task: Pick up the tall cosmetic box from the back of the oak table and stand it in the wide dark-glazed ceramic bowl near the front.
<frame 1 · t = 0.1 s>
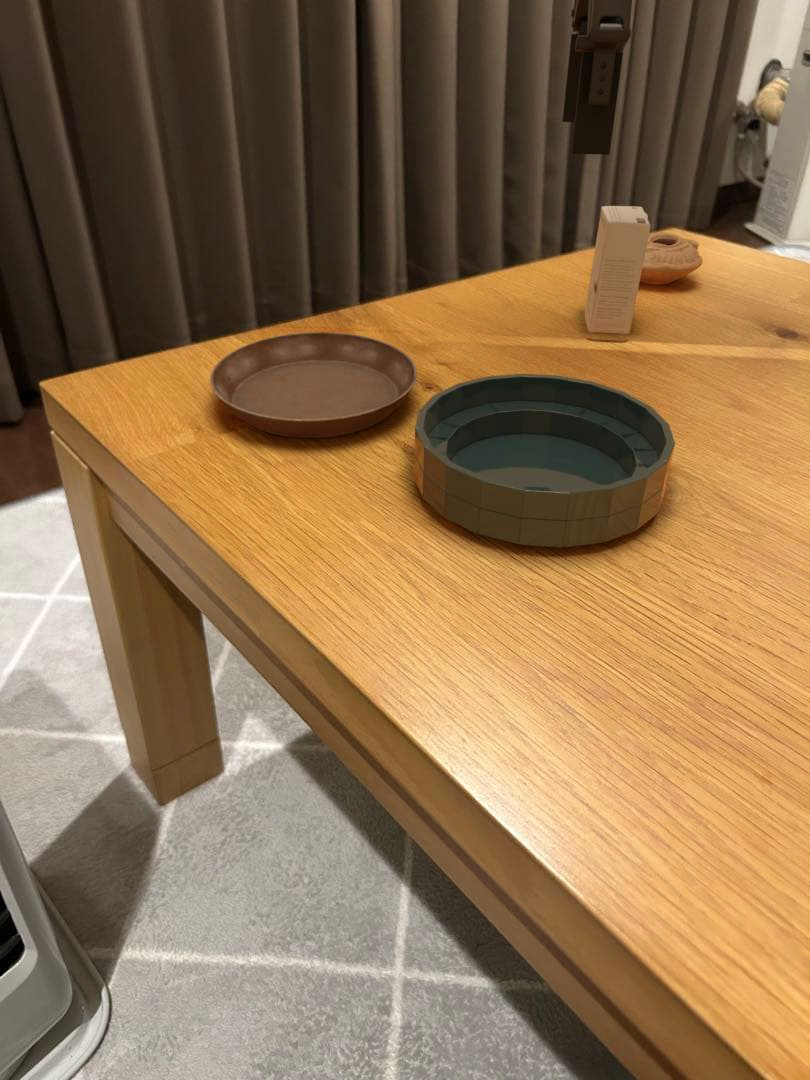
hand: (583, 136, 69), 21 cm above the table, tool pointing down, fingers open, 13 cm apart
plant saucer: (316, 404, 76), on the table
cosmetic box: (606, 334, 91), on the table
pottery oil lamp: (643, 281, 105), on the table
bowl: (536, 485, 65), on the table
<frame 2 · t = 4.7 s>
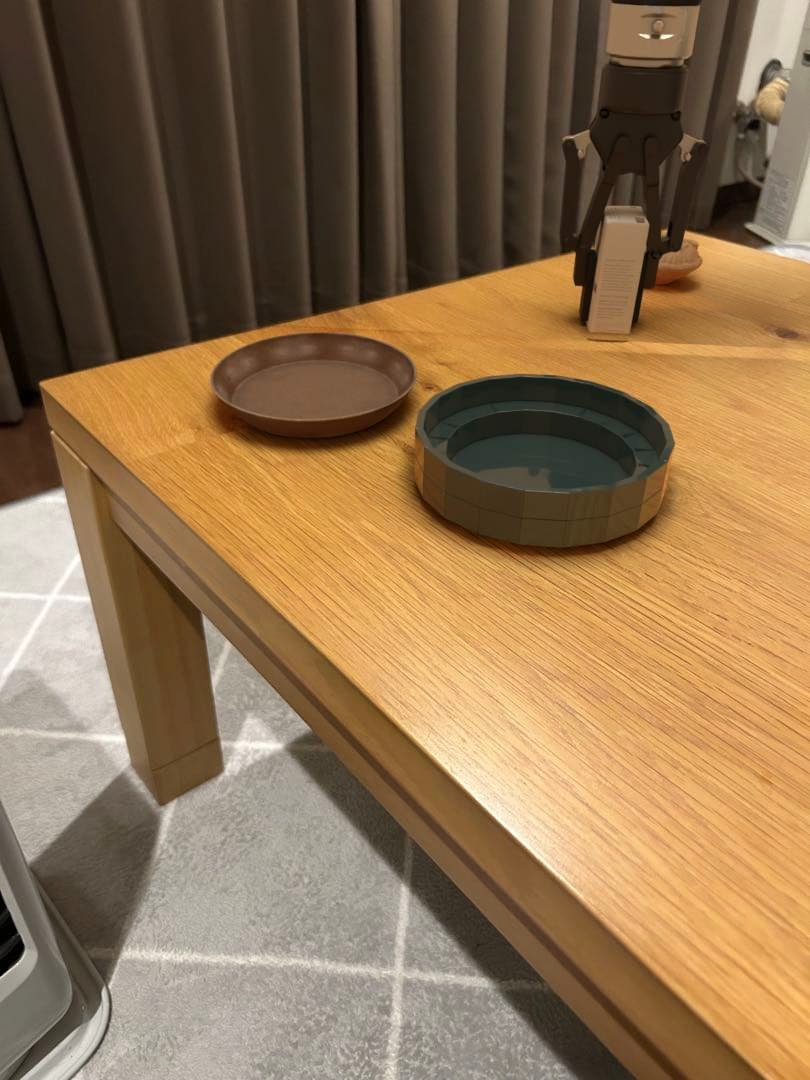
hand: (607, 317, 89), 2 cm above the table, tool pointing down, fingers closed on cosmetic box, 4 cm apart
cosmetic box: (606, 334, 90), on the table, touching gripper
everything else where it was.
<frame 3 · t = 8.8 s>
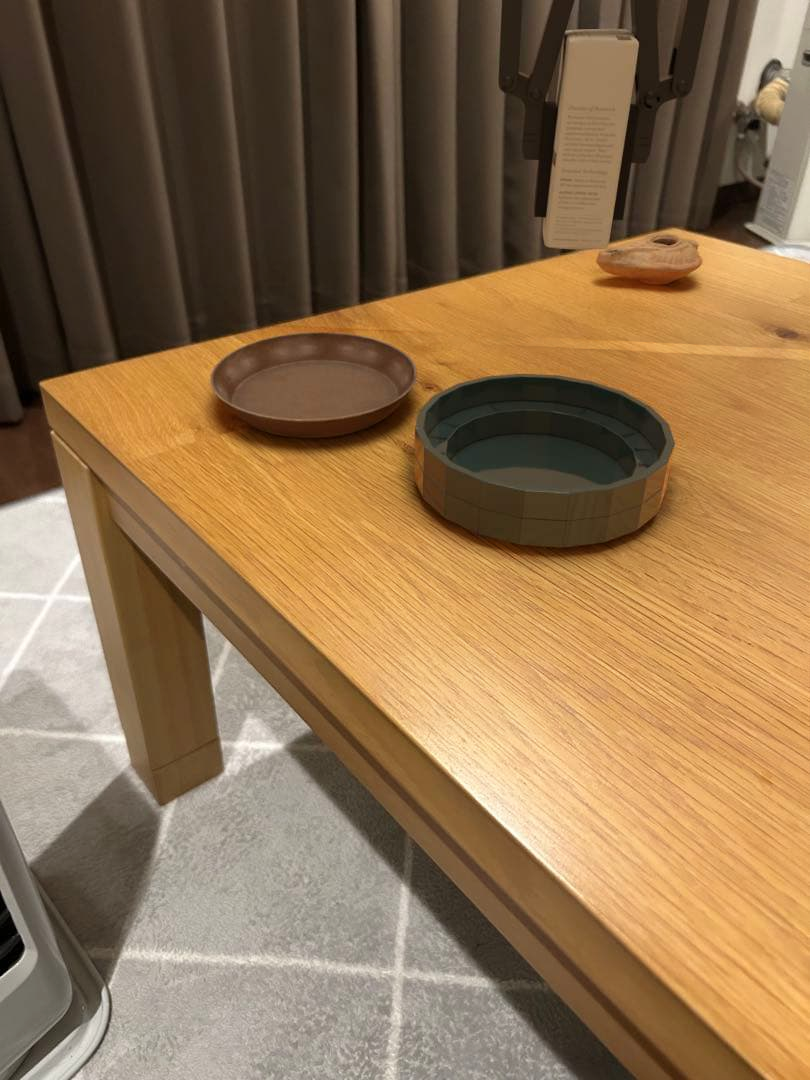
hand: (577, 212, 58), 19 cm above the table, tool pointing down, fingers closed on cosmetic box, 4 cm apart
cosmetic box: (576, 241, 59), point 17 cm above the table, touching gripper
everything else where it was.
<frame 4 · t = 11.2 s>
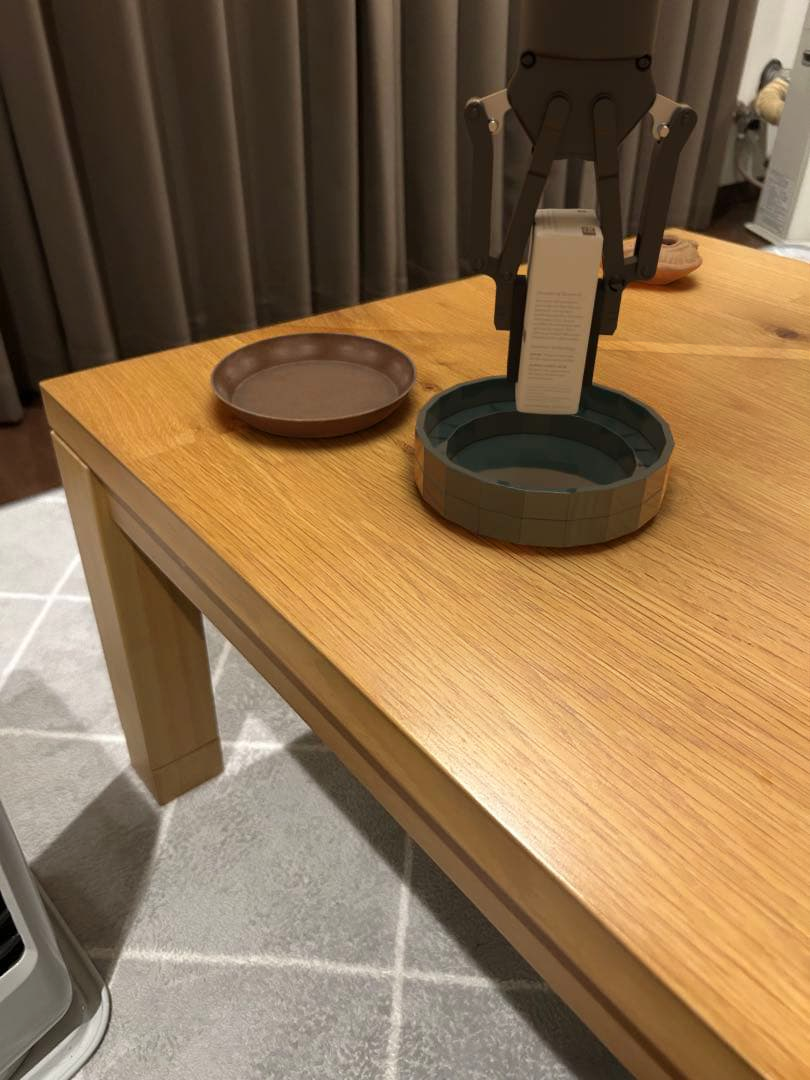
hand: (548, 375, 60), 9 cm above the table, tool pointing down, fingers closed on cosmetic box, 4 cm apart
cosmetic box: (547, 399, 61), point 7 cm above the table, touching gripper
everything else where it was.
when the fingers open (2 cm above the table, at t = 13.0 s): cosmetic box stays where it is, resting on bowl.
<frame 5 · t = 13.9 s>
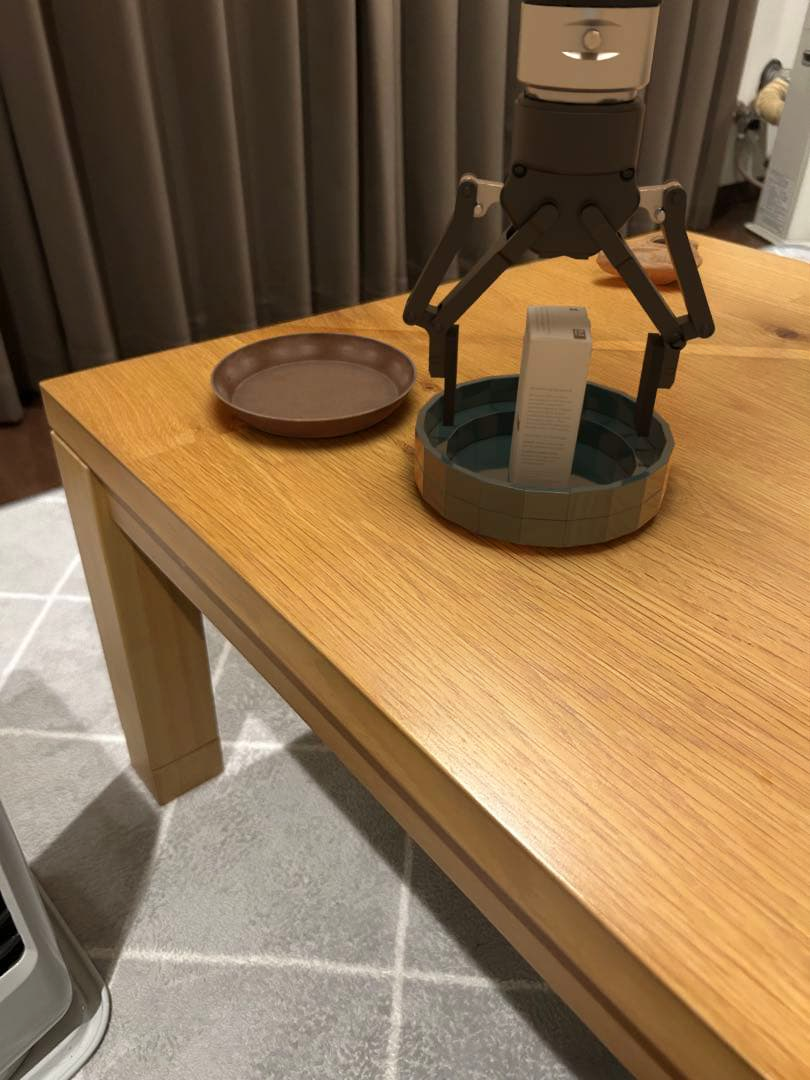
hand: (543, 423, 62), 5 cm above the table, tool pointing down, fingers open, 13 cm apart
cosmetic box: (539, 478, 65), point 1 cm above the table, touching bowl
everything else where it was.
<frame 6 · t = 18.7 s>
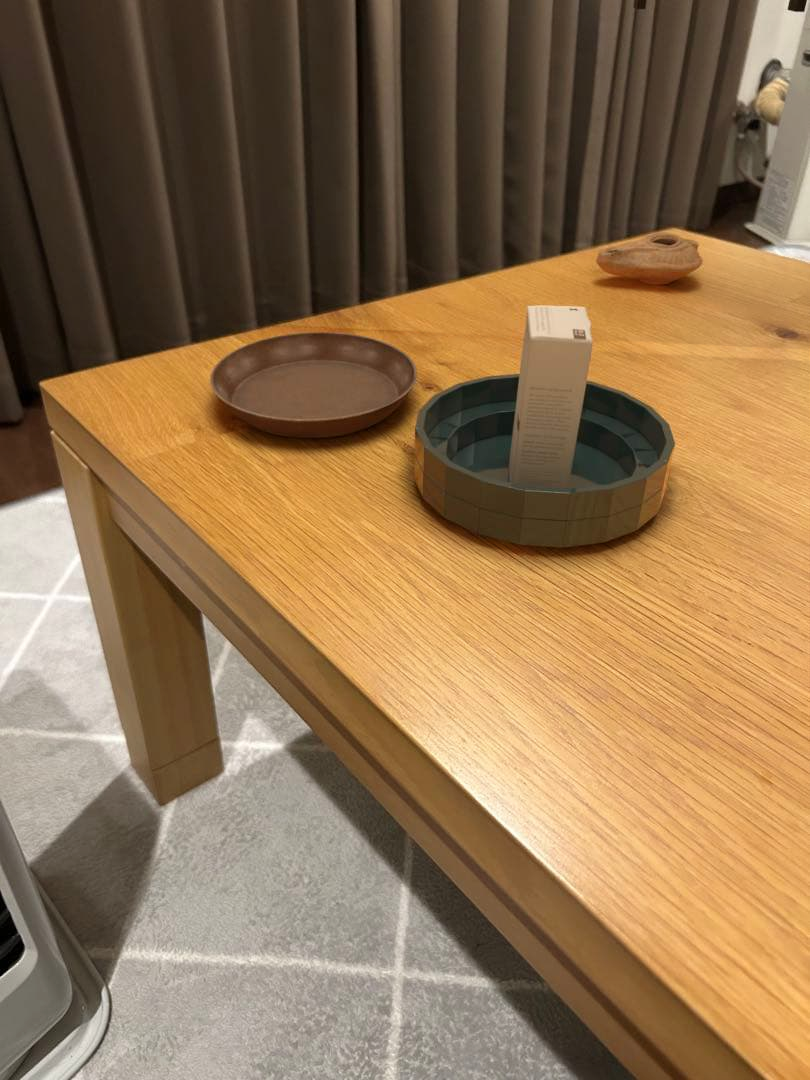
hand: (716, 10, 77), 29 cm above the table, tool pointing down, fingers open, 13 cm apart
nothing on the table moved.
at the end: cosmetic box inside the target area in the bowl (0.1 cm from its centre), point 0.6 cm above the bowl's base; the gripper is holding nothing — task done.
